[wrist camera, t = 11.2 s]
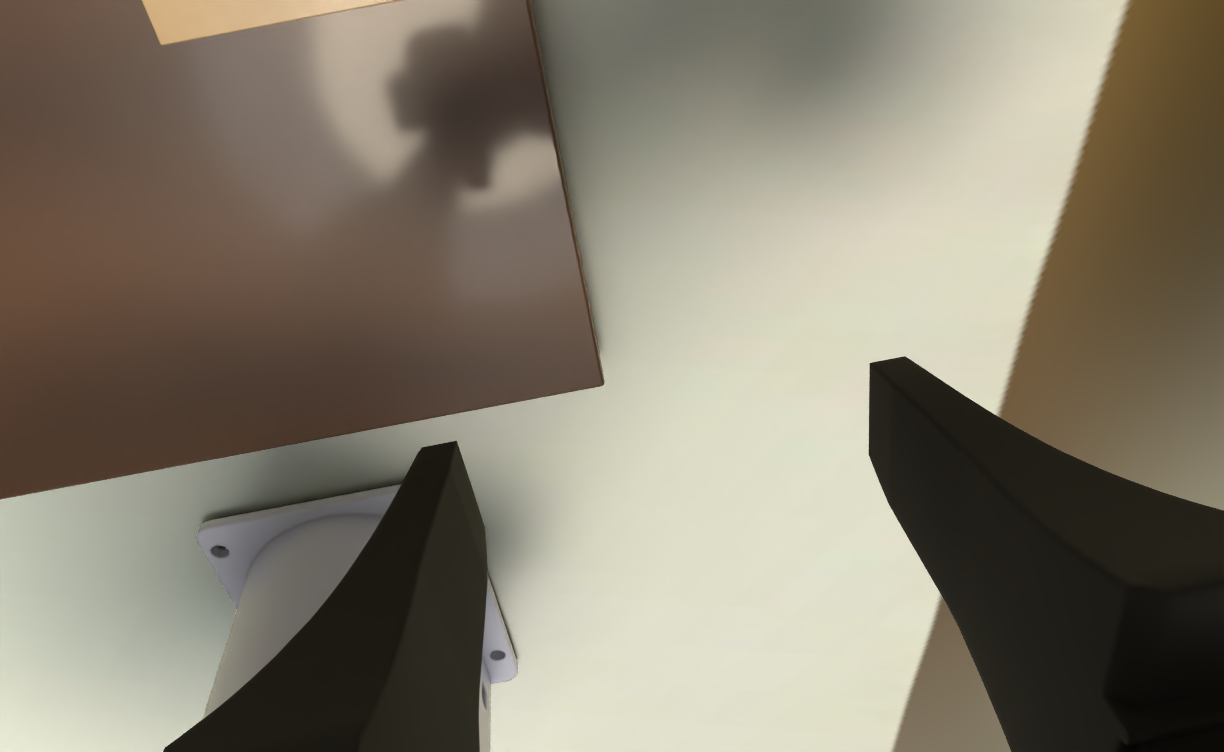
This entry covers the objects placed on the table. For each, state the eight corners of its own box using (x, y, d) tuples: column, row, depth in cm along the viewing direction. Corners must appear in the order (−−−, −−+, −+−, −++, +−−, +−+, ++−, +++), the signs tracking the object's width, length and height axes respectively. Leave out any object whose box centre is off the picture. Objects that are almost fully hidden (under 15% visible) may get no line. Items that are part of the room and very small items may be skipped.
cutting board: (600, 357, 26) (606, 393, 24) (-21, 474, 26) (-53, 517, 24) (431, -507, 15) (424, -538, 14) (-599, -312, 15) (-716, -321, 14)
